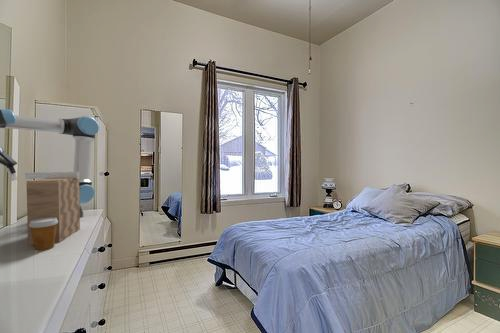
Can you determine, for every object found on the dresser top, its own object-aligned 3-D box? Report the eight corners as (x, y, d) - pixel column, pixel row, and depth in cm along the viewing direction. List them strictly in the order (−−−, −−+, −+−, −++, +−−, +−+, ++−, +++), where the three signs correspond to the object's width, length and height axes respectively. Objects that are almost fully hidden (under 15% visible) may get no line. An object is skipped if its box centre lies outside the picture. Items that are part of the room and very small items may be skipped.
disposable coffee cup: (64, 245, 107) (63, 218, 107) (39, 253, 98) (38, 223, 98) (49, 243, 110) (48, 216, 110) (23, 250, 101) (23, 221, 101)
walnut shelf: (53, 231, 130) (52, 177, 129) (80, 229, 133) (79, 177, 132) (27, 244, 108) (26, 180, 108) (59, 242, 111) (58, 180, 111)
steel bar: (29, 178, 124) (29, 172, 124) (79, 177, 129) (79, 171, 129) (25, 178, 120) (25, 172, 120) (76, 178, 126) (76, 172, 126)
